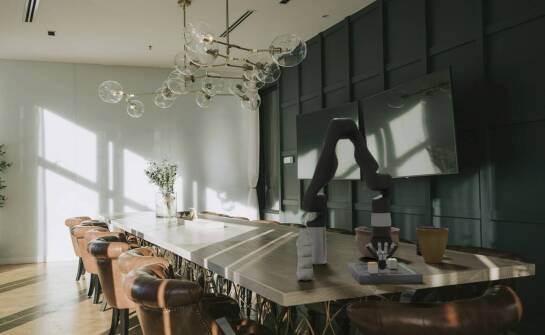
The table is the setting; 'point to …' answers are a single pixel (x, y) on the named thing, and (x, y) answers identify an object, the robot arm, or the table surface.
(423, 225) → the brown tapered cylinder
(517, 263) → the table surface
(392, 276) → the breaker panel
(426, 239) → the plant pot
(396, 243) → the ceramic bowl
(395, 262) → the block
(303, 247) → the plastic bottle
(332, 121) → the robot arm
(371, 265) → the block
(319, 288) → the table surface
